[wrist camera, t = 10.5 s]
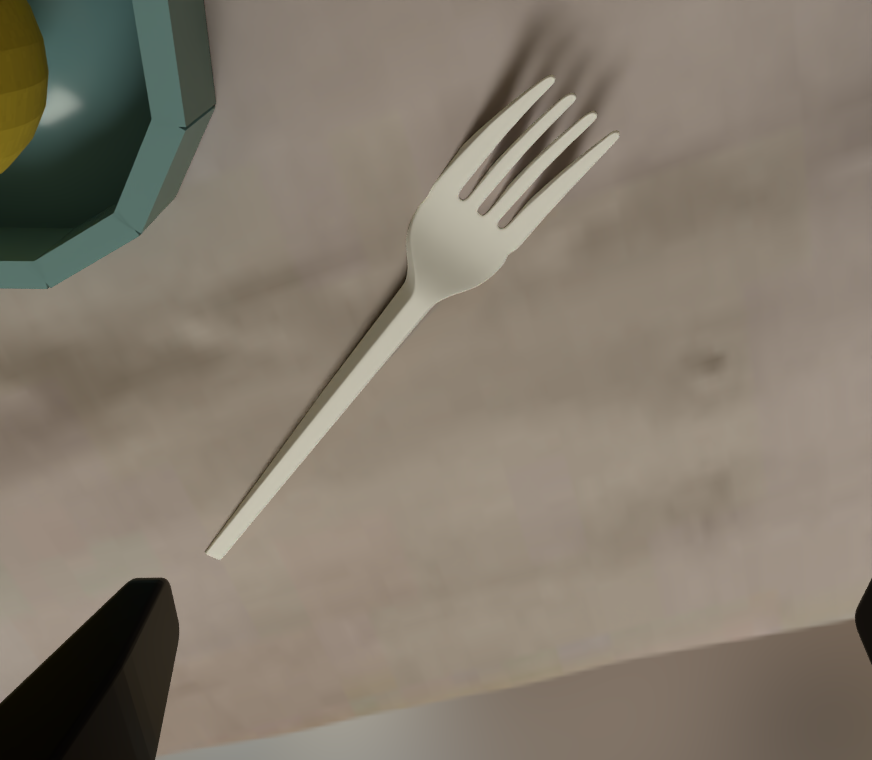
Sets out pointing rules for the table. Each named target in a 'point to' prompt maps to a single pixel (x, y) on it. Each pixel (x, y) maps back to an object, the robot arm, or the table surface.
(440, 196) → the fork
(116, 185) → the bowl
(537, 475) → the table surface
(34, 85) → the lemon
